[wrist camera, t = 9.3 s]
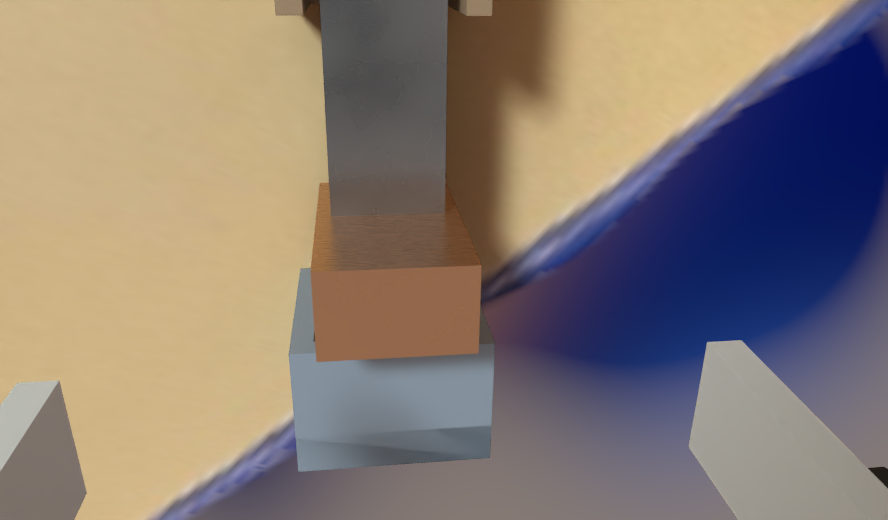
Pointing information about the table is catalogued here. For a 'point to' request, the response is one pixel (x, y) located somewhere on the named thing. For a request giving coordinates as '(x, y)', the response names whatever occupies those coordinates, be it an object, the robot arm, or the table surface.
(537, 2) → the table surface
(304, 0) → the sleeve
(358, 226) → the blue and tan block
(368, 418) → the grey rectangular block
